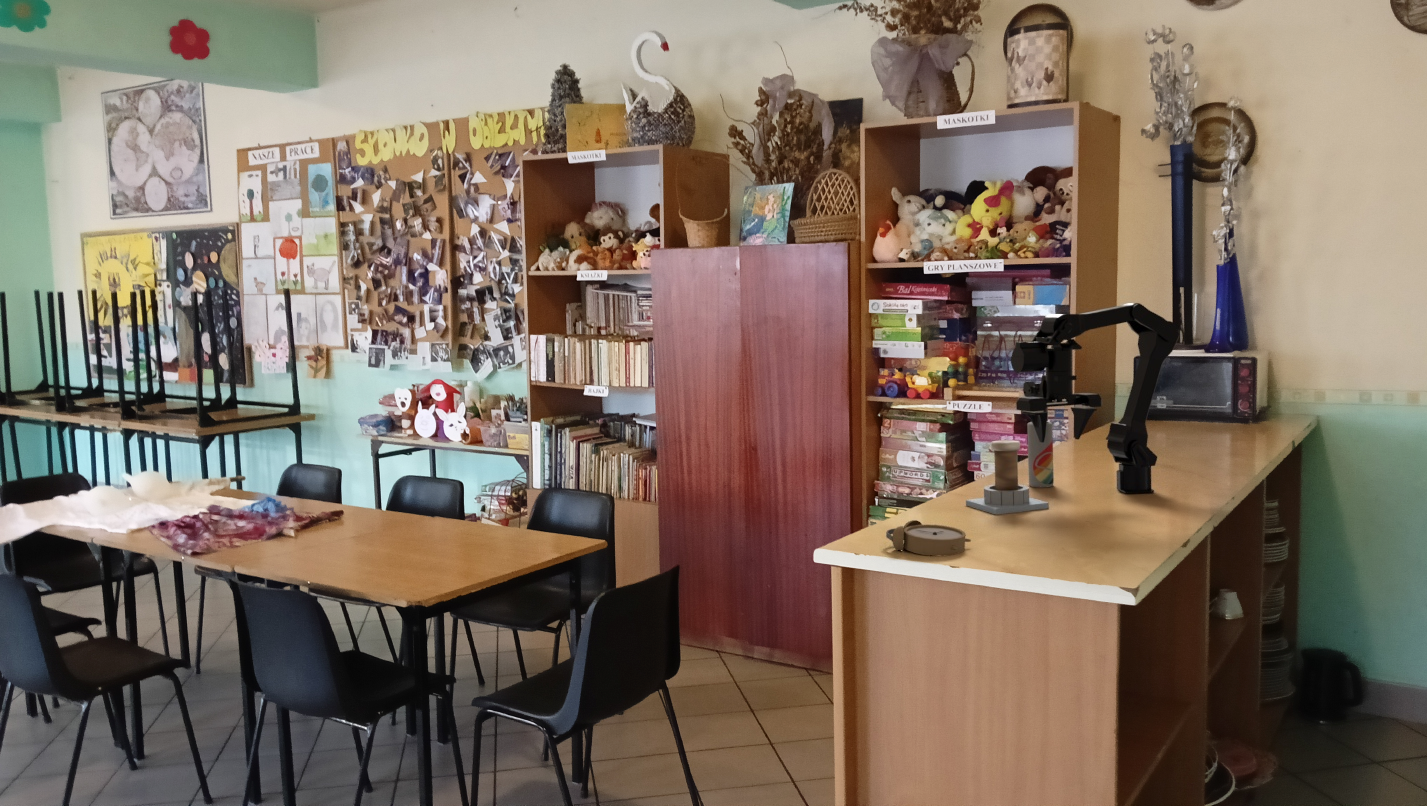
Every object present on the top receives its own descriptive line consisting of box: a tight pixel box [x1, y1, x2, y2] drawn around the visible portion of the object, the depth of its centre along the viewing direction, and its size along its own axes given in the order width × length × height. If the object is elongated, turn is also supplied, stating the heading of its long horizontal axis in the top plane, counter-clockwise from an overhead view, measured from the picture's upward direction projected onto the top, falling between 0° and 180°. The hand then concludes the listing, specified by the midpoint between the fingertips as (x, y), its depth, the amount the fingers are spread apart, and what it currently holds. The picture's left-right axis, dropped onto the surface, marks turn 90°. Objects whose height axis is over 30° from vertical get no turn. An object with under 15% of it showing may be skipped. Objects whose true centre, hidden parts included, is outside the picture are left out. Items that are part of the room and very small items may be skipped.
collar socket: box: [965, 483, 1050, 516], centre depth 233 cm, size 13×12×4 cm
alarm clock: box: [885, 519, 972, 557], centre depth 199 cm, size 11×5×15 cm
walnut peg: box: [990, 439, 1021, 491], centre depth 232 cm, size 6×6×13 cm
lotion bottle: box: [1027, 407, 1055, 488], centre depth 255 cm, size 6×6×20 cm
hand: (1059, 440), depth 238 cm, fingers open, 9 cm apart
